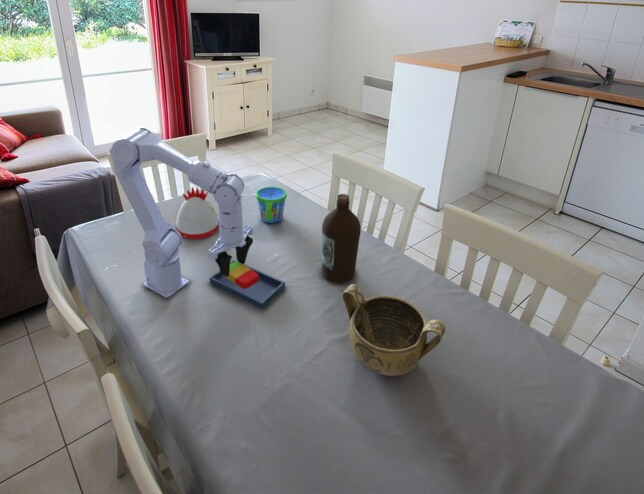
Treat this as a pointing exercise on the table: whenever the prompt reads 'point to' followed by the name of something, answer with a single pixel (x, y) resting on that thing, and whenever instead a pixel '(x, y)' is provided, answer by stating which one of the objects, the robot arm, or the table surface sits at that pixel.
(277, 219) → the snack cup
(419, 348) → the ceramic bowl
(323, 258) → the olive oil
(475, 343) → the table surface
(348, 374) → the table surface
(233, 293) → the tray
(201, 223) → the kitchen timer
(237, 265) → the popsicle
